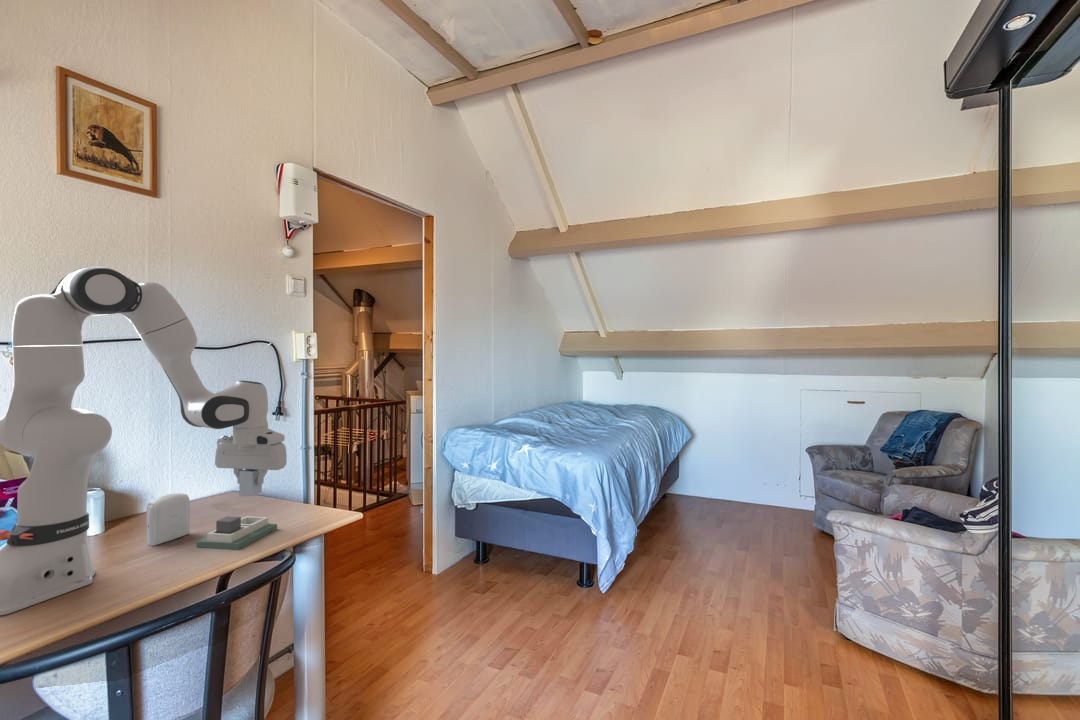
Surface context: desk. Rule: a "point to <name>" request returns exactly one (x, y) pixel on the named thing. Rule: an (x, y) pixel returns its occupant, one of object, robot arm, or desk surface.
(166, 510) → the photo printer
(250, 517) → the header board
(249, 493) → the plug
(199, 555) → the desk surface
